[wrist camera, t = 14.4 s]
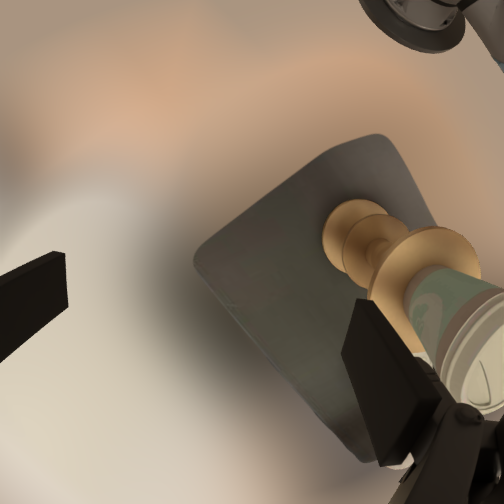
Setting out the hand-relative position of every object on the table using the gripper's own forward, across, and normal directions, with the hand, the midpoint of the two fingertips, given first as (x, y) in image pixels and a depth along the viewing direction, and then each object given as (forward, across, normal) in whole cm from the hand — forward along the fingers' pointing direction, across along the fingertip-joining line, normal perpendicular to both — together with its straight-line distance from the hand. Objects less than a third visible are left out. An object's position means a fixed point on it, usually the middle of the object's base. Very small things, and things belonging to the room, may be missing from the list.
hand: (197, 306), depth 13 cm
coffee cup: (+12, +18, -2) cm, 22 cm away
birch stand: (+37, +18, -2) cm, 41 cm away
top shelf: (+13, +18, -2) cm, 22 cm away
